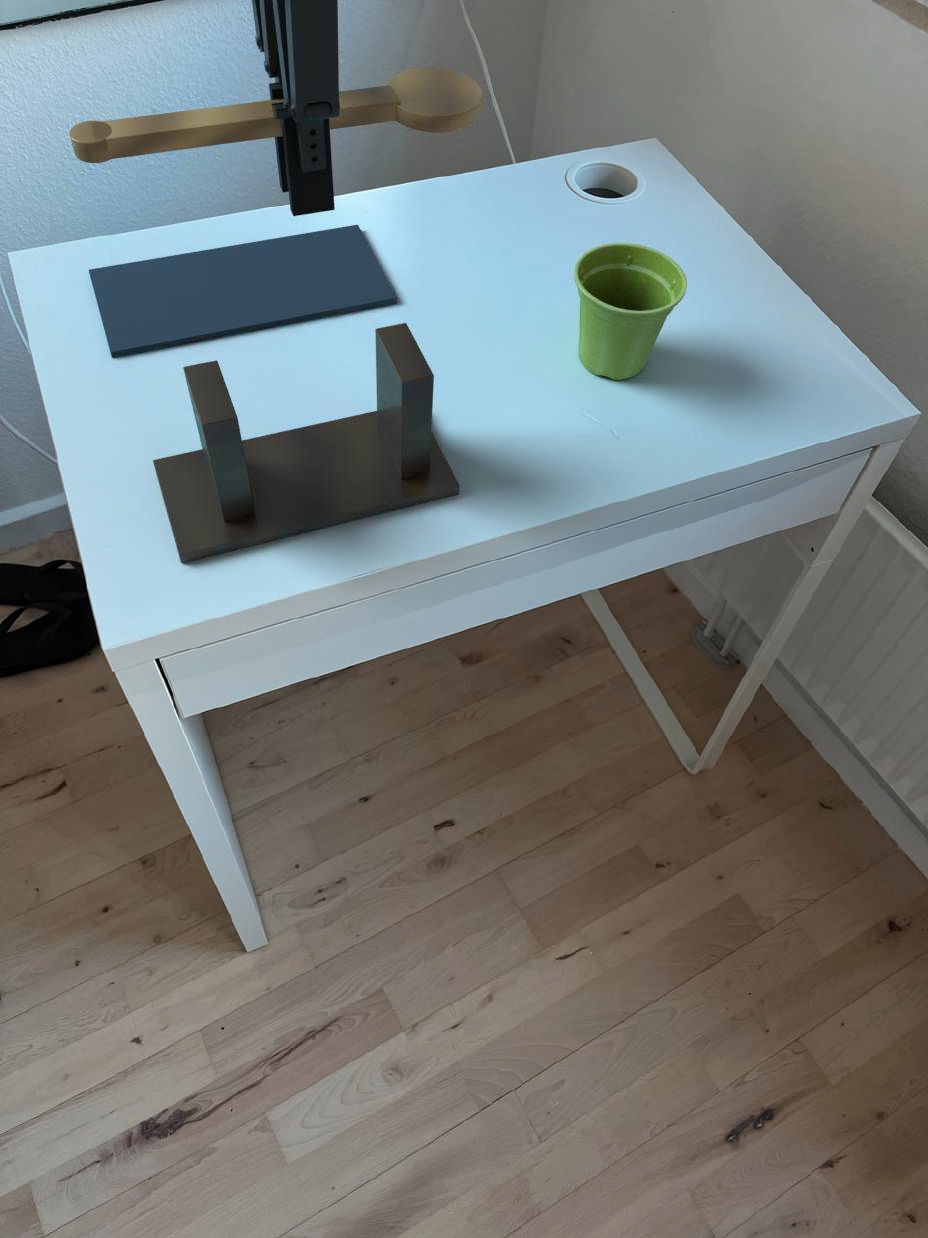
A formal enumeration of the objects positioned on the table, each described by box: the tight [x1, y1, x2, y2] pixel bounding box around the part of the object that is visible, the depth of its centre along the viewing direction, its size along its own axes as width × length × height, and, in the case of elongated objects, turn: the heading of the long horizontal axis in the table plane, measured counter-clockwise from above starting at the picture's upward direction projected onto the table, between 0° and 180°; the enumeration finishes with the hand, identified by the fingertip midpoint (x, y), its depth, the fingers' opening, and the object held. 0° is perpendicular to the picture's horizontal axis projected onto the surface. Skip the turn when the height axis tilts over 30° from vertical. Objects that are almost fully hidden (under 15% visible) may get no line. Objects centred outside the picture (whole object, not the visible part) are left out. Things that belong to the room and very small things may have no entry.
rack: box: [152, 322, 461, 564], centre depth 70 cm, size 22×10×11 cm, turn 111°
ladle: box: [68, 66, 484, 164], centre depth 56 cm, size 25×6×1 cm, turn 111°
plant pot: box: [573, 242, 688, 381], centre depth 81 cm, size 9×9×9 cm
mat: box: [88, 224, 398, 358], centre depth 87 cm, size 26×12×1 cm, turn 111°
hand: (307, 197), depth 61 cm, fingers closed on ladle, 2 cm apart
